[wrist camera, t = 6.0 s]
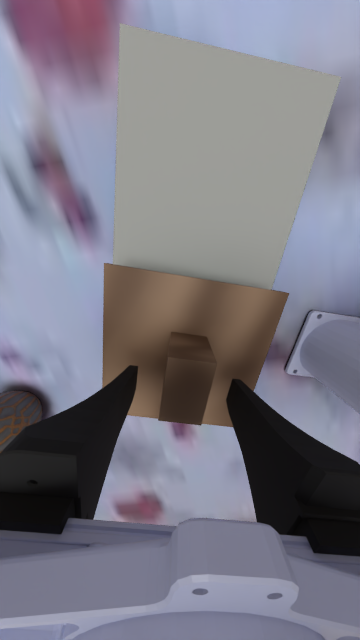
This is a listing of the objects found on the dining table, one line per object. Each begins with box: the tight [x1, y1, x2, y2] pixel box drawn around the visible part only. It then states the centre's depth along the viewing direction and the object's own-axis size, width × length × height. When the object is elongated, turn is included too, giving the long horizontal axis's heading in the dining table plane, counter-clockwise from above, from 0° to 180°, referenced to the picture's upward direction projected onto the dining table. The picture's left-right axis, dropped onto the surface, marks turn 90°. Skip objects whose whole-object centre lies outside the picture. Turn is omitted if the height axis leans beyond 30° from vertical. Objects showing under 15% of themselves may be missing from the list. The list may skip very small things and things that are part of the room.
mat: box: [113, 23, 341, 290], centre depth 14 cm, size 16×16×1 cm
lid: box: [102, 263, 289, 427], centre depth 13 cm, size 14×14×5 cm
